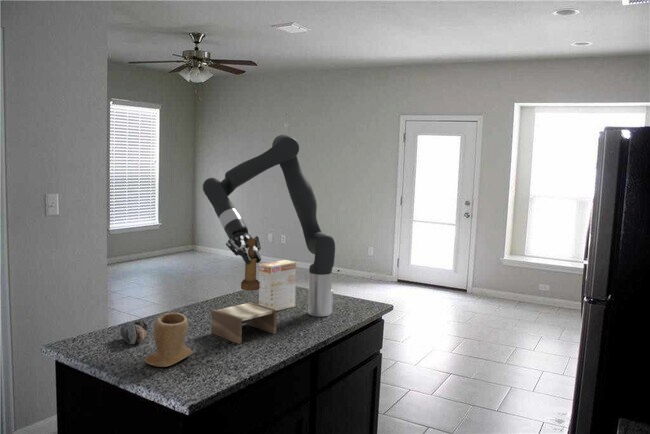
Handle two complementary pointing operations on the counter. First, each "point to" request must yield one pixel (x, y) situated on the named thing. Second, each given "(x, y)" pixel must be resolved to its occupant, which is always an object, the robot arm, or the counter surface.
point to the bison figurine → (134, 331)
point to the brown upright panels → (232, 325)
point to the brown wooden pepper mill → (250, 270)
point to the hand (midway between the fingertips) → (254, 262)
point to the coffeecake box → (277, 284)
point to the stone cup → (169, 340)
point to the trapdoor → (246, 311)
